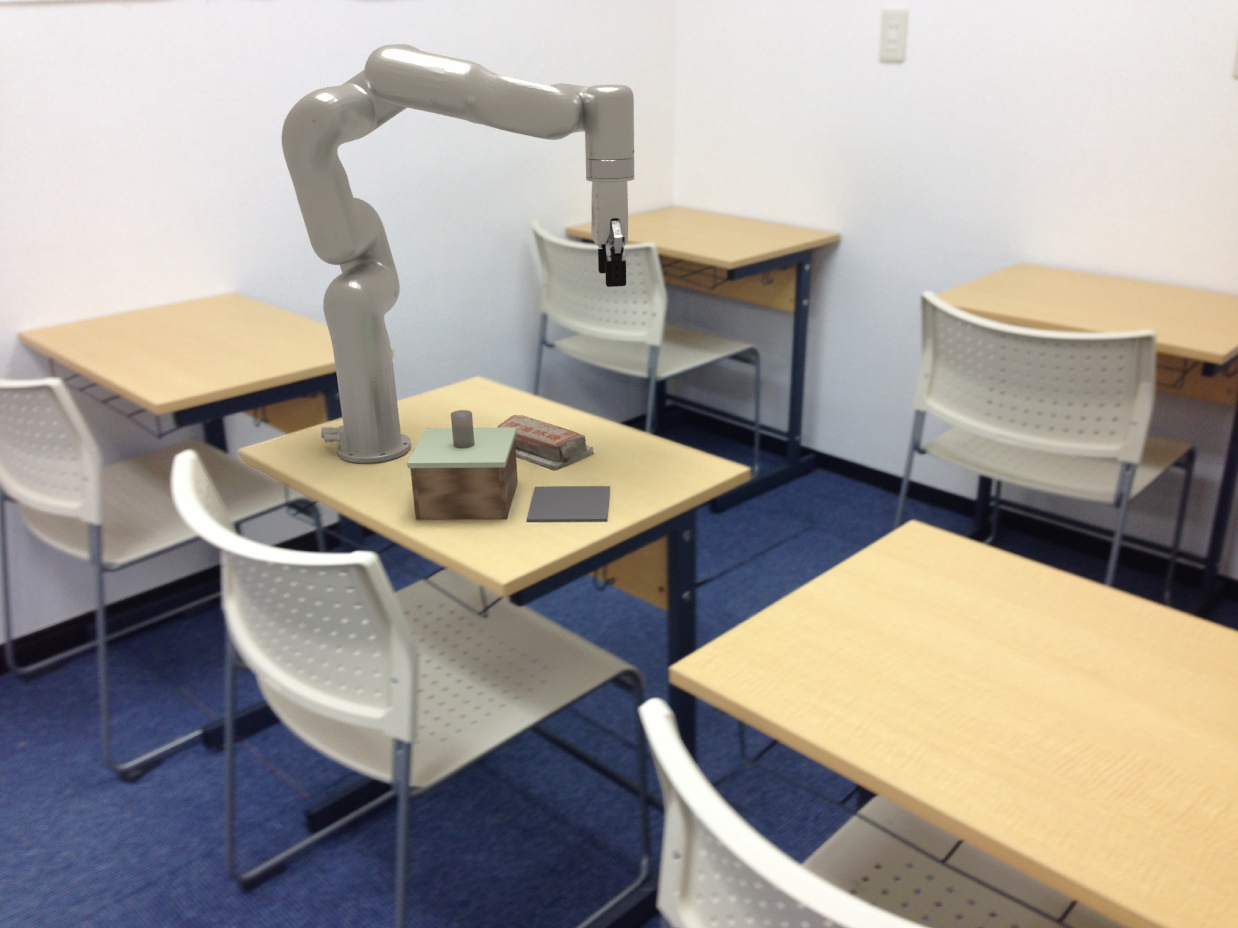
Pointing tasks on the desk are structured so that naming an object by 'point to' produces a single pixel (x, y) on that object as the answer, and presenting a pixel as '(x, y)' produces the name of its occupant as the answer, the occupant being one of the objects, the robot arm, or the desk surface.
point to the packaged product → (547, 442)
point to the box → (465, 491)
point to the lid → (463, 445)
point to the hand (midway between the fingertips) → (612, 279)
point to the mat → (569, 504)
